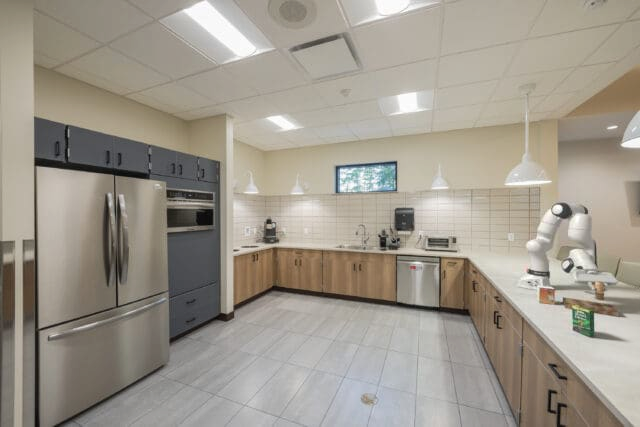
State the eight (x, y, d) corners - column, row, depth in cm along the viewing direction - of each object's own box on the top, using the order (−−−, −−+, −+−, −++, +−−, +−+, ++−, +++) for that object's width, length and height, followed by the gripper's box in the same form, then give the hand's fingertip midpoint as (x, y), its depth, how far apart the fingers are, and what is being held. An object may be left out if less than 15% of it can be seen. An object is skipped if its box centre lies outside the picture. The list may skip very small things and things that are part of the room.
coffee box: (571, 329, 129) (571, 304, 129) (576, 329, 129) (576, 304, 129) (589, 337, 121) (589, 310, 121) (594, 337, 121) (595, 310, 121)
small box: (538, 303, 166) (539, 287, 166) (536, 300, 171) (536, 284, 171) (555, 305, 162) (555, 288, 162) (551, 302, 167) (551, 286, 167)
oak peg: (595, 299, 151) (595, 283, 151) (594, 297, 154) (594, 281, 154) (605, 300, 149) (604, 284, 149) (603, 299, 152) (603, 282, 152)
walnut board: (565, 308, 157) (565, 302, 157) (562, 302, 166) (562, 297, 166) (618, 317, 143) (619, 311, 143) (612, 310, 153) (612, 304, 153)
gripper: (607, 274, 159) (620, 294, 150) (566, 272, 166) (576, 291, 156) (612, 268, 155) (626, 288, 146) (570, 266, 162) (581, 286, 152)
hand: (600, 290), depth 151 cm, fingers closed on oak peg, 3 cm apart
